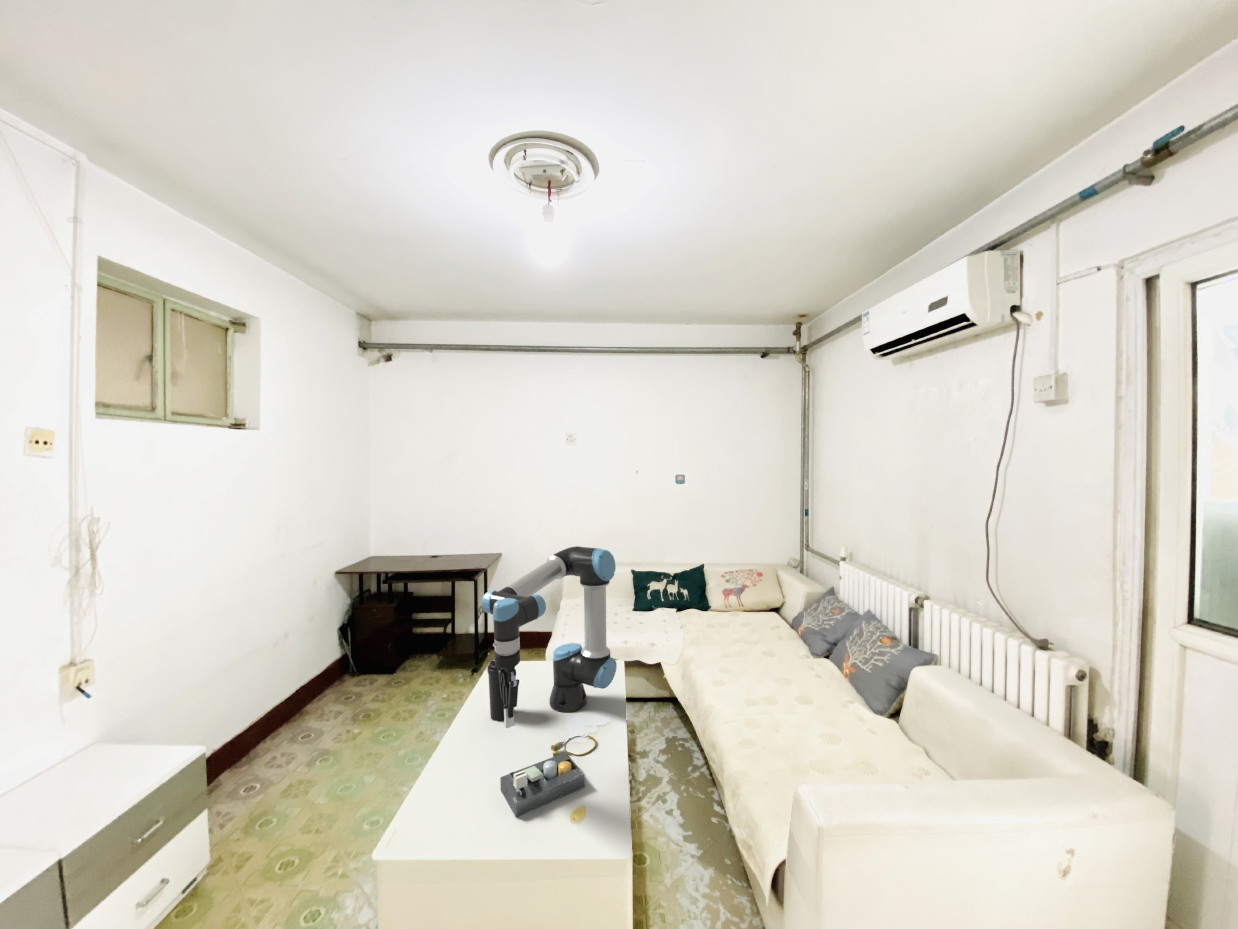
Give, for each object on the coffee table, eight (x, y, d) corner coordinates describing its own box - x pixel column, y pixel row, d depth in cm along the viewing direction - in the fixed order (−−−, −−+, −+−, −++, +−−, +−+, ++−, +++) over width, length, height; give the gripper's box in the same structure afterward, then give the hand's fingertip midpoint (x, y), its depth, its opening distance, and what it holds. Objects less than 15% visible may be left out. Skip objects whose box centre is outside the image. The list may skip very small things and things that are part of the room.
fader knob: (524, 781, 141) (523, 769, 141) (527, 785, 139) (526, 774, 139) (513, 785, 139) (513, 773, 139) (516, 789, 137) (516, 778, 137)
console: (565, 764, 157) (565, 748, 157) (584, 787, 146) (584, 770, 146) (500, 790, 145) (500, 773, 145) (515, 817, 134) (515, 799, 134)
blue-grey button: (553, 772, 149) (553, 759, 149) (558, 779, 146) (558, 766, 146) (541, 777, 147) (541, 763, 147) (546, 784, 144) (546, 770, 144)
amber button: (567, 772, 152) (567, 759, 152) (573, 779, 149) (573, 766, 149) (556, 777, 150) (556, 764, 150) (562, 784, 147) (561, 771, 146)
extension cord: (552, 738, 172) (552, 733, 172) (596, 736, 172) (596, 731, 172) (549, 760, 160) (549, 754, 160) (596, 758, 160) (596, 752, 160)
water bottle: (520, 711, 189) (519, 654, 189) (503, 725, 180) (502, 664, 179) (499, 706, 193) (498, 650, 193) (482, 718, 184) (481, 660, 184)
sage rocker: (534, 769, 147) (534, 765, 148) (543, 777, 142) (543, 773, 142) (523, 773, 145) (523, 770, 146) (532, 782, 140) (531, 778, 140)
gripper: (488, 646, 150) (490, 720, 151) (502, 662, 139) (505, 741, 140) (511, 640, 154) (513, 712, 155) (526, 655, 143) (529, 732, 144)
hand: (509, 725), depth 147 cm, fingers closed
